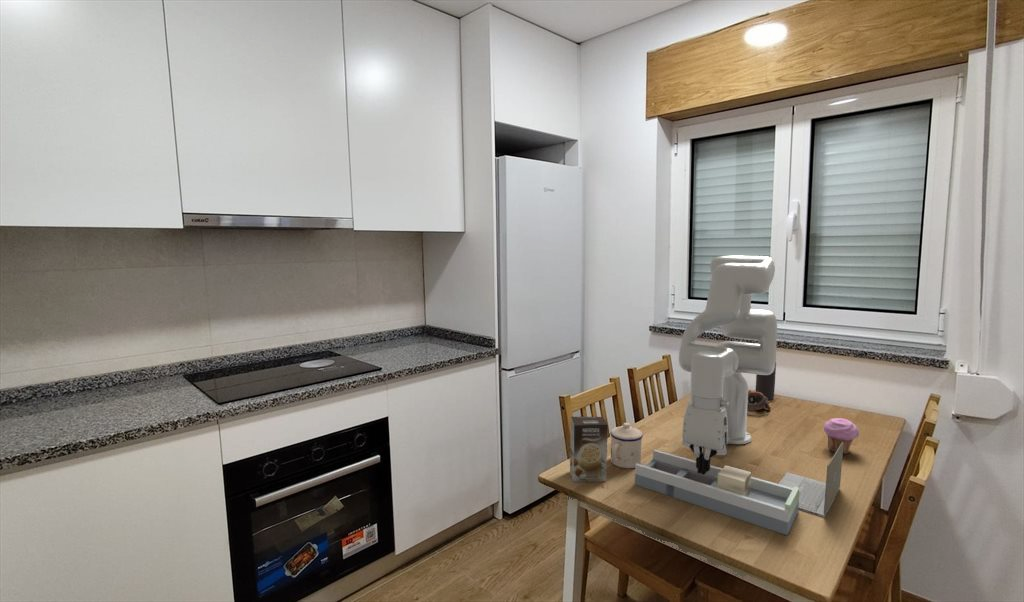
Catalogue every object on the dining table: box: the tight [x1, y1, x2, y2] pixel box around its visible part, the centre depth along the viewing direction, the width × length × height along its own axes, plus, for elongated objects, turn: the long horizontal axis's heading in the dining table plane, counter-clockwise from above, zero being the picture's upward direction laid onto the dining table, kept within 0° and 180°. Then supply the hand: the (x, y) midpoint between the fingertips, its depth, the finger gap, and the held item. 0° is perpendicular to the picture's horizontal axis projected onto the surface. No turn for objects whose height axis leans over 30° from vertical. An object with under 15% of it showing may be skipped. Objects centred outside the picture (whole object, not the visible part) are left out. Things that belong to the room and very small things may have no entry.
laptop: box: [777, 442, 844, 518], centre depth 125 cm, size 18×12×13 cm
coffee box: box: [569, 416, 609, 483], centre depth 135 cm, size 9×6×16 cm
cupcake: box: [823, 417, 860, 455], centre depth 150 cm, size 9×9×10 cm
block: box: [717, 464, 752, 497], centre depth 121 cm, size 6×6×5 cm
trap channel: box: [634, 449, 800, 536], centre depth 124 cm, size 12×36×6 cm, turn 50°
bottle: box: [754, 362, 777, 401], centre depth 199 cm, size 7×7×20 cm
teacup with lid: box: [610, 422, 644, 469], centre depth 143 cm, size 12×9×12 cm
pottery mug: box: [747, 390, 772, 412], centre depth 186 cm, size 12×10×8 cm
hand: (702, 471), depth 125 cm, fingers closed
